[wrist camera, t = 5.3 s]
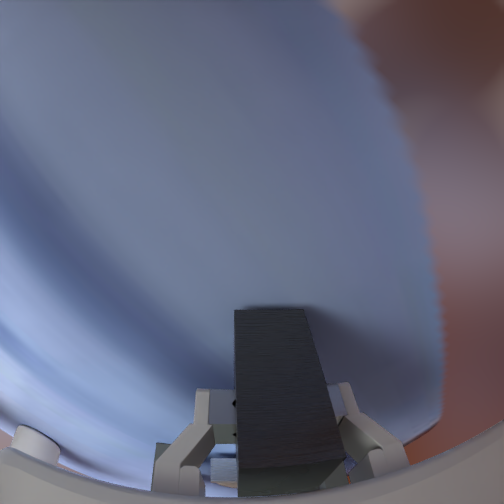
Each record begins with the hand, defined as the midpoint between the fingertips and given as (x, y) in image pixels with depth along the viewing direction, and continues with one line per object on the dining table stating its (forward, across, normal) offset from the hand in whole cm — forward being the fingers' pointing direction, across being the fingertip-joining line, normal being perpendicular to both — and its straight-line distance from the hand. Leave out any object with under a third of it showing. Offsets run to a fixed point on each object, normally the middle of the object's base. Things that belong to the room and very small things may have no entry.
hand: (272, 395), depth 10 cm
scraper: (+3, 0, +7) cm, 8 cm away
